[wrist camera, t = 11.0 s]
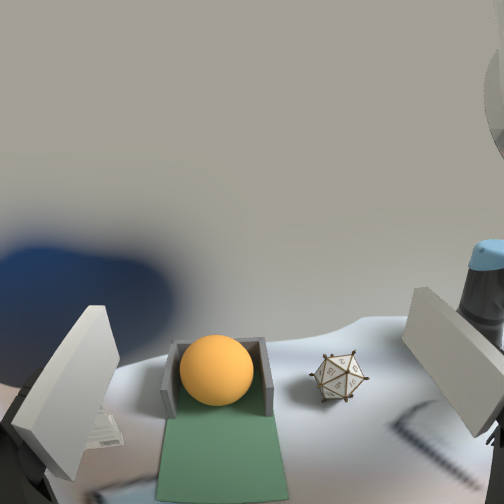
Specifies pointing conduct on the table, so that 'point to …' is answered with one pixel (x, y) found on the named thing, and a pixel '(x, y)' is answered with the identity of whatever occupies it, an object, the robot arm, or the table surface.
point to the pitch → (221, 439)
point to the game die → (339, 376)
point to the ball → (216, 370)
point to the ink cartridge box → (104, 432)
